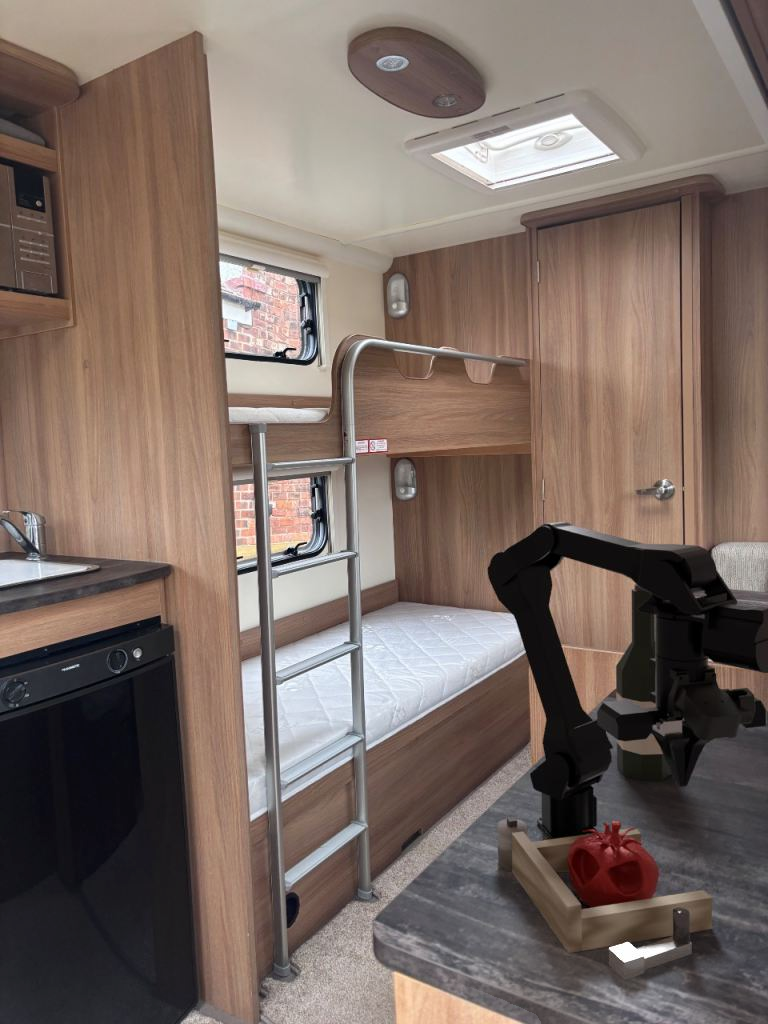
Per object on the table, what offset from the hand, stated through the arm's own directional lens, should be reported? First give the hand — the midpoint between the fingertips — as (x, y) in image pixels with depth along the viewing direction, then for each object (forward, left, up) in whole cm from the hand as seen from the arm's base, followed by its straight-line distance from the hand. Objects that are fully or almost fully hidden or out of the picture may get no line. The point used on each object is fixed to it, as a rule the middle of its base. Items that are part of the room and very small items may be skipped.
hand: (681, 785), depth 92 cm
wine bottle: (+13, +30, -12) cm, 35 cm away
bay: (-11, +1, -12) cm, 16 cm away
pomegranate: (-9, -1, -12) cm, 15 cm away
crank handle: (-10, -12, -12) cm, 20 cm away
